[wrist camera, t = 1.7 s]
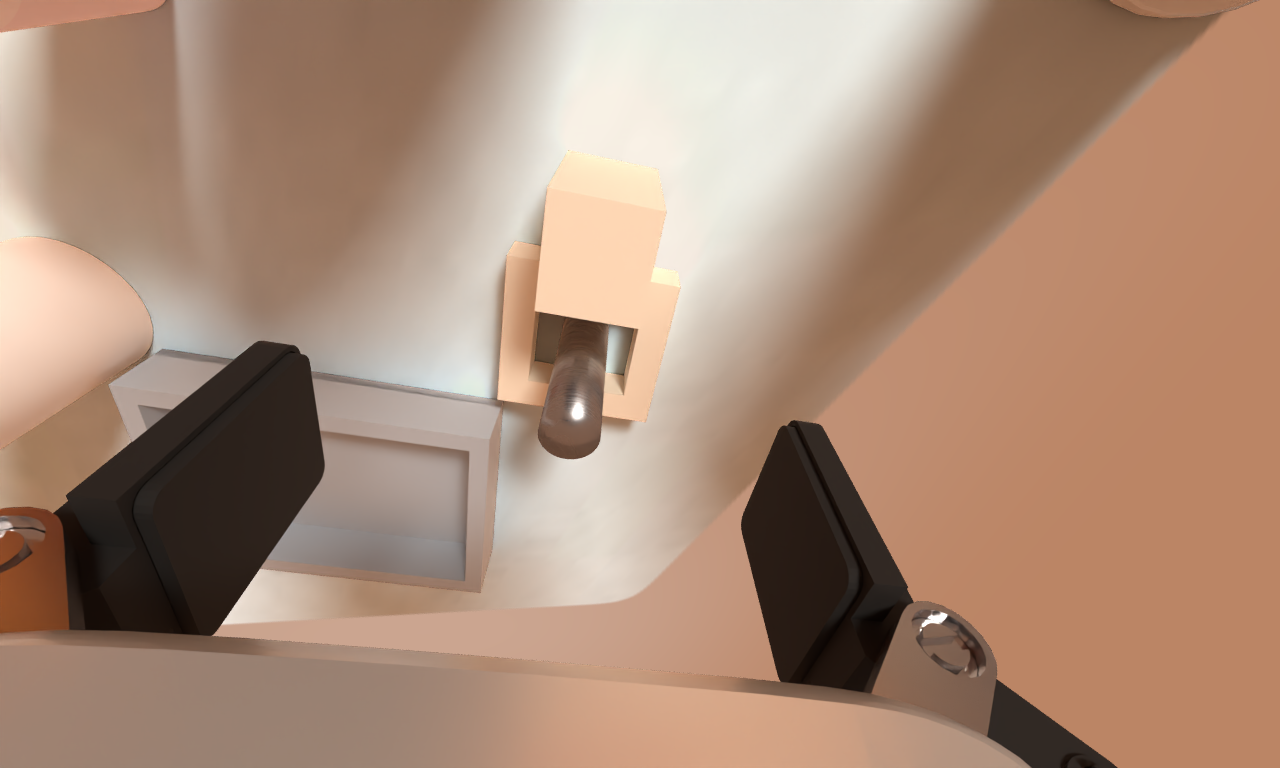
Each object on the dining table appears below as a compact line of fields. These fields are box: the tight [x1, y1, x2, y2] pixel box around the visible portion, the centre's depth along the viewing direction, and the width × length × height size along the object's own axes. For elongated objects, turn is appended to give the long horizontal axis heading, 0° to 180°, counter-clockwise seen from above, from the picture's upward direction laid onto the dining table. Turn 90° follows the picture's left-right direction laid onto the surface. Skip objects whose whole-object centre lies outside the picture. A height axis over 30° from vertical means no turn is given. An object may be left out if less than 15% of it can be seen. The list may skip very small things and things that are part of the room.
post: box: [538, 317, 609, 459], centre depth 24 cm, size 2×2×9 cm
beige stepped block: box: [497, 150, 681, 422], centre depth 24 cm, size 8×12×7 cm, turn 169°
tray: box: [108, 349, 503, 593], centre depth 31 cm, size 18×13×4 cm
